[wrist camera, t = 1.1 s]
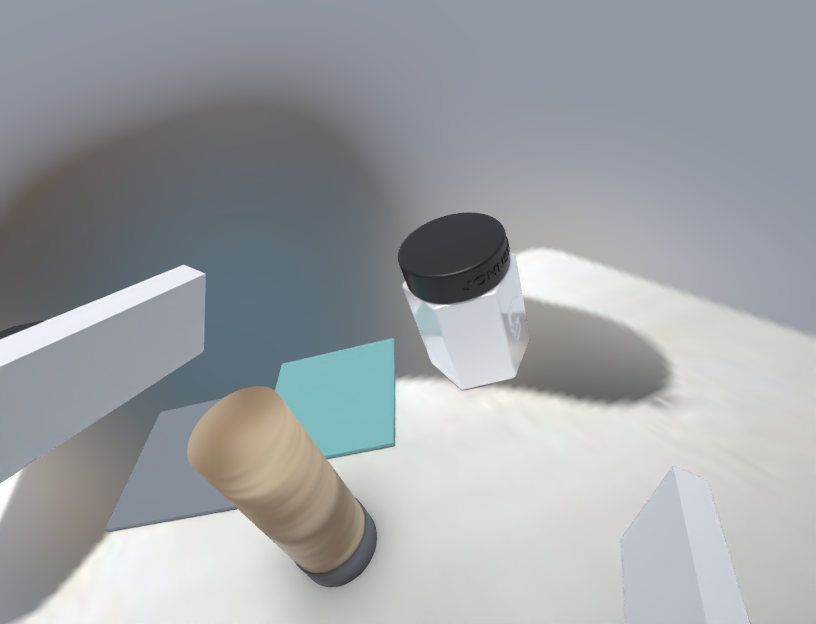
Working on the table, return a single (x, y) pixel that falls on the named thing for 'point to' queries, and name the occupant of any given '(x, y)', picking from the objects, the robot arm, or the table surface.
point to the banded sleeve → (283, 484)
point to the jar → (466, 298)
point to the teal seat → (344, 397)
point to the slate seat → (167, 476)
